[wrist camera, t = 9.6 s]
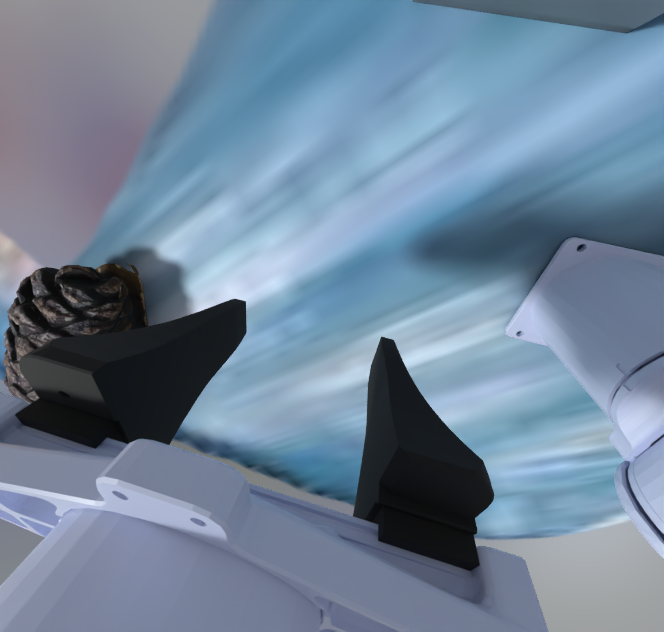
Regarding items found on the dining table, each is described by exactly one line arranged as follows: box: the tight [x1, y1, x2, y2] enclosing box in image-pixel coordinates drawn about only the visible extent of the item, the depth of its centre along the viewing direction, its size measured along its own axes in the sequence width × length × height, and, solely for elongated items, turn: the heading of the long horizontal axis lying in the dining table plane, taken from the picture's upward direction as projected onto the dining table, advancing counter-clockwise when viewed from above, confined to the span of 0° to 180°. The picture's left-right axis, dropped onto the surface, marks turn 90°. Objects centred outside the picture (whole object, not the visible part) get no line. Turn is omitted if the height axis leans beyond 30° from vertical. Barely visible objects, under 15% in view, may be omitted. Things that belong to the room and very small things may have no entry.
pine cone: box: [3, 264, 148, 404], centre depth 25 cm, size 10×18×10 cm, turn 159°
